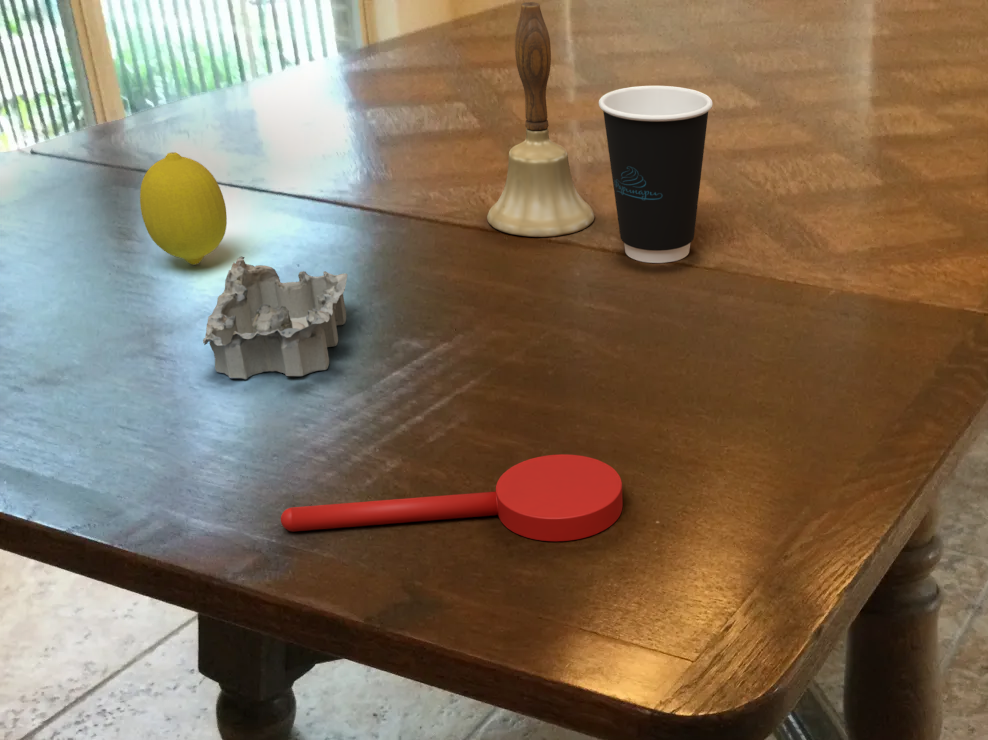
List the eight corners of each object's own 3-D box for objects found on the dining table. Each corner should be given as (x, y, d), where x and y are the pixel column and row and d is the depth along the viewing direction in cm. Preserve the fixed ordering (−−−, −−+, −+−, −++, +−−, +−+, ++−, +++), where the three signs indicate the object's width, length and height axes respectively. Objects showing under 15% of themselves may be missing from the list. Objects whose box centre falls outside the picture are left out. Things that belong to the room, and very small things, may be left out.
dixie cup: (603, 272, 96) (598, 116, 90) (603, 232, 103) (598, 85, 97) (714, 270, 97) (716, 115, 90) (707, 231, 103) (708, 84, 97)
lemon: (239, 273, 95) (217, 160, 90) (155, 283, 93) (129, 168, 89) (232, 246, 99) (211, 137, 95) (152, 255, 97) (127, 145, 93)
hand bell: (615, 214, 106) (610, 0, 97) (548, 245, 100) (536, 21, 91) (534, 194, 110) (521, -14, 101) (465, 223, 104) (445, 5, 95)
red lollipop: (276, 566, 64) (272, 541, 64) (288, 497, 70) (284, 474, 69) (630, 536, 67) (629, 512, 66) (615, 472, 72) (614, 449, 72)
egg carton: (248, 311, 89) (237, 252, 87) (361, 312, 90) (353, 253, 87) (198, 382, 80) (184, 318, 78) (324, 383, 81) (314, 319, 78)
